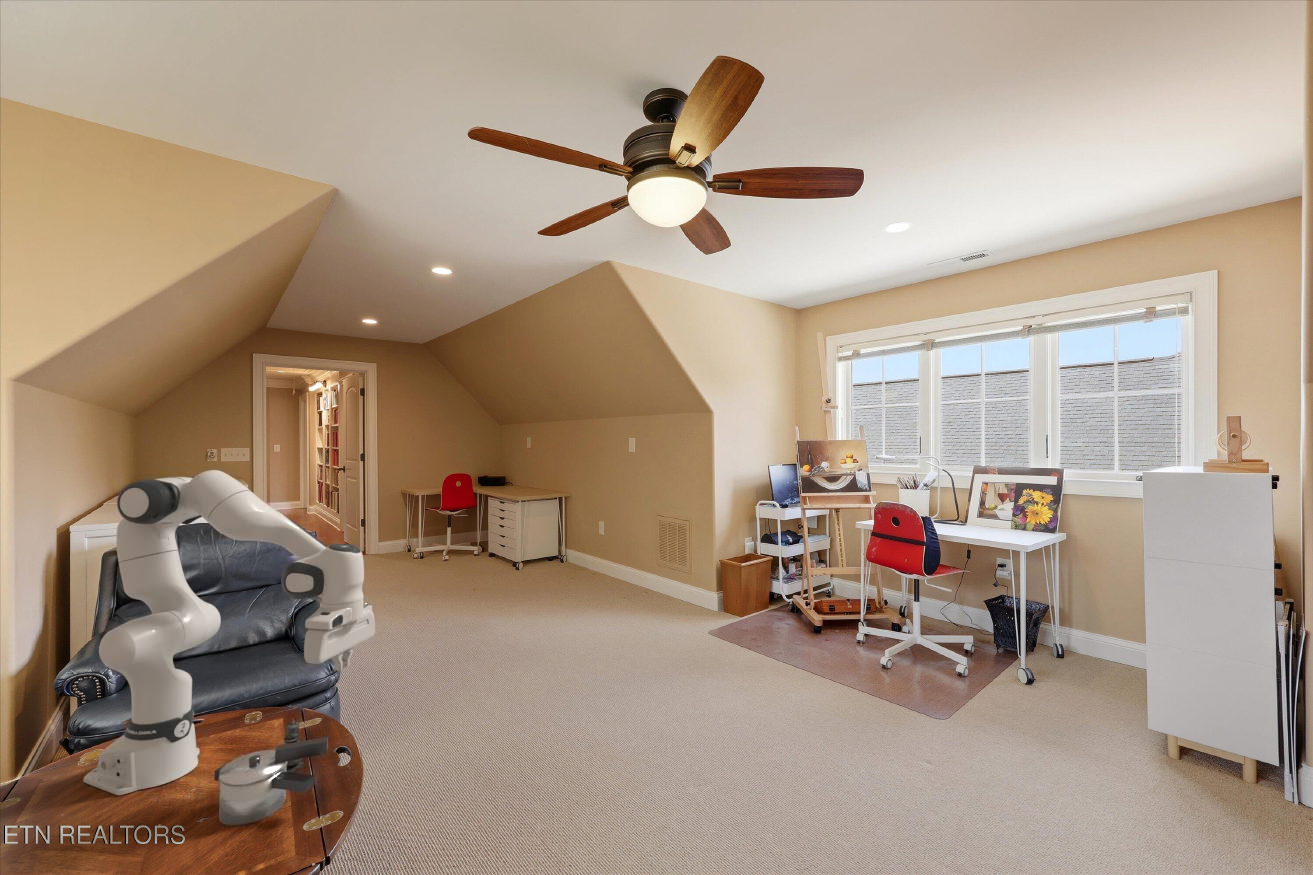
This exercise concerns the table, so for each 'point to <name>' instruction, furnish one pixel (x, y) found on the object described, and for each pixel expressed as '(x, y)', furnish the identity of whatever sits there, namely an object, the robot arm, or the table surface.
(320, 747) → the lid
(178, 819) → the table surface
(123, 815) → the table surface
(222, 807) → the pot
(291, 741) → the grey round vessel
